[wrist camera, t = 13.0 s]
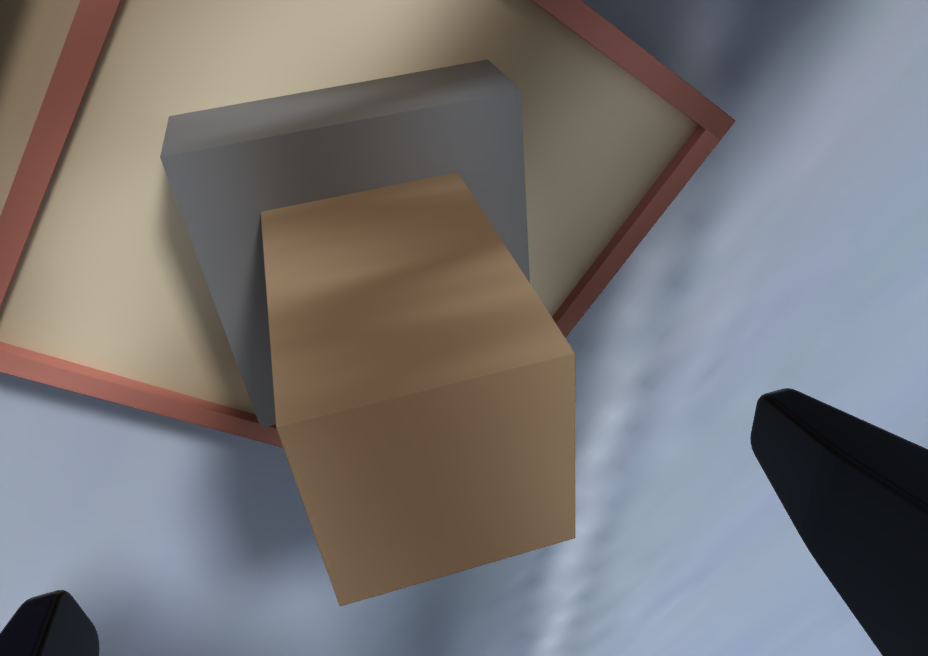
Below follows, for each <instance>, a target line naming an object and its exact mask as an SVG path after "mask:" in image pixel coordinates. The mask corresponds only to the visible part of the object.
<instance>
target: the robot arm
mask: <svg viewBox="0 0 928 656" xmlns="http://www.w3.org/2000/svg"><path fill="white" fill-rule="evenodd" d="M751 446H752V449H753V452H754V454H755V456H756V458H757V460H758V462H759V463H760V465H761V467H762V469H763V470H764V472H765V474H766V476H767V478H768V479H769V481H770V483H771V485H772V487H773V488H774V490H775V492H776V494H777V495H778V497H779V499H780V501H781V503H782V504H783V506H784V508H785V510H786V512H787V513H788V515H789V517H790V519H791V520H792V522H793V524H794V526H795V528H796V529H797V531H798V533H799V535H800V536H801V538H802V540H803V541H804V543H805V545H806V546H807V548H808V550H809V551H810V553H811V554H812V556H813V557H814V559H815V560H816V562H817V563H818V565H819V566H820V568H821V569H822V570H823V572H824V573H825V575H826V576H827V577H828V579H829V580H830V582H831V583H832V585H833V586H834V587H835V589H836V590H837V592H838V593H839V594H840V596H841V597H842V599H843V600H844V602H845V603H846V604H847V606H848V607H849V609H850V610H851V612H852V613H853V614H854V616H855V617H856V619H857V620H858V621H859V623H860V624H861V626H862V627H863V629H864V630H865V631H866V633H867V634H868V636H869V637H870V638H871V640H872V641H873V643H874V644H875V646H876V647H877V648H878V650H879V651H880V653H881V654H882V655H883V656H928V449H926V448H924V447H921V446H919V445H917V444H915V443H912V442H910V441H908V440H906V439H903V438H901V437H899V436H897V435H895V434H892V433H890V432H888V431H886V430H883V429H881V428H879V427H877V426H875V425H872V424H870V423H868V422H866V421H863V420H861V419H859V418H857V417H854V416H852V415H850V414H848V413H846V412H843V411H841V410H839V409H837V408H834V407H832V406H830V405H828V404H826V403H823V402H821V401H819V400H817V399H814V398H812V397H810V396H808V395H805V394H803V393H801V392H799V391H796V390H794V389H790V388H785V389H781V390H777V391H773V392H770V393H766V394H764V395H762V396H761V397H760V398H759V399H758V401H757V405H756V410H755V416H754V421H753V426H752V431H751ZM0 656H99V639H98V634H97V631H96V628H95V626H94V625H93V623H92V622H91V621H90V619H89V618H88V617H87V615H86V614H85V613H84V611H83V610H82V609H81V607H80V606H79V605H78V603H77V602H76V601H75V599H74V598H73V597H72V596H71V594H70V593H69V592H67V591H64V590H57V591H54V592H50V593H46V594H43V595H39V596H36V597H32V598H30V599H28V600H27V601H25V602H24V603H23V604H22V605H21V606H20V607H19V609H18V610H17V611H16V613H15V614H14V615H13V617H12V618H11V619H10V621H9V622H8V623H7V625H6V626H5V627H4V629H3V630H2V631H1V633H0Z"/></svg>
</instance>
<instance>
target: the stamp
mask: <svg viewBox="0 0 928 656" xmlns="http://www.w3.org/2000/svg"><path fill="white" fill-rule="evenodd" d="M160 159H161V161H162V164H163V167H164V169H165V172H166V175H167V177H168V180H169V183H170V185H171V188H172V191H173V193H174V196H175V199H176V201H177V204H178V207H179V210H180V212H181V215H182V218H183V220H184V223H185V226H186V228H187V231H188V234H189V236H190V239H191V242H192V244H193V247H194V250H195V253H196V255H197V258H198V261H199V263H200V266H201V269H202V271H203V274H204V277H205V279H206V282H207V285H208V287H209V290H210V293H211V296H212V298H213V301H214V304H215V306H216V309H217V312H218V314H219V317H220V320H221V322H222V325H223V328H224V330H225V333H226V336H227V338H228V341H229V344H230V347H231V349H232V352H233V355H234V357H235V360H236V363H237V365H238V368H239V371H240V373H241V376H242V379H243V381H244V384H245V387H246V390H247V392H248V395H249V398H250V400H251V403H252V406H253V408H254V411H255V414H256V416H257V419H258V422H259V424H260V427H261V428H264V427H268V426H272V425H276V428H277V430H278V433H279V436H280V439H281V442H282V445H283V447H284V450H285V453H286V456H287V459H288V462H289V464H290V467H291V470H292V473H293V476H294V479H295V481H296V484H297V487H298V490H299V493H300V496H301V498H302V501H303V504H304V507H305V510H306V512H307V515H308V518H309V521H310V524H311V527H312V529H313V532H314V535H315V538H316V541H317V544H318V546H319V549H320V552H321V555H322V558H323V561H324V563H325V566H326V569H327V572H328V575H329V578H330V580H331V583H332V586H333V589H334V592H335V594H336V597H337V600H338V603H339V606H343V605H347V604H350V603H354V602H357V601H361V600H364V599H367V598H371V597H374V596H378V595H381V594H385V593H388V592H392V591H395V590H398V589H402V588H405V587H409V586H412V585H416V584H419V583H422V582H426V581H429V580H433V579H436V578H440V577H443V576H446V575H450V574H453V573H457V572H460V571H464V570H467V569H471V568H474V567H477V566H481V565H484V564H488V563H491V562H495V561H498V560H501V559H505V558H508V557H512V556H515V555H519V554H522V553H526V552H529V551H532V550H536V549H539V548H543V547H546V546H550V545H553V544H556V543H560V542H563V541H567V540H570V539H574V538H575V352H574V351H573V349H572V348H571V346H570V345H569V343H568V342H567V340H566V339H565V337H564V335H563V334H562V332H561V331H560V329H559V328H558V326H557V325H556V323H555V322H554V320H553V318H552V317H551V315H550V314H549V312H548V311H547V309H546V308H545V306H544V305H543V303H542V301H541V300H540V298H539V297H538V295H537V294H536V292H535V291H534V289H533V288H532V286H531V285H530V273H529V251H528V230H527V209H526V187H525V166H524V144H523V123H522V101H521V90H520V89H519V88H518V87H517V86H516V85H515V84H514V83H513V82H512V81H511V80H510V79H508V78H507V77H506V76H505V75H504V74H503V73H502V72H501V71H500V70H499V69H498V68H496V67H495V66H494V65H493V64H492V63H491V62H490V61H489V60H488V59H487V60H482V61H476V62H471V63H465V64H459V65H454V66H448V67H442V68H437V69H431V70H426V71H420V72H414V73H409V74H403V75H398V76H392V77H386V78H381V79H375V80H369V81H364V82H358V83H353V84H347V85H341V86H336V87H330V88H324V89H319V90H313V91H308V92H302V93H296V94H291V95H285V96H280V97H274V98H268V99H263V100H257V101H251V102H246V103H240V104H235V105H229V106H223V107H218V108H212V109H207V110H201V111H195V112H190V113H184V114H178V115H173V116H169V118H168V123H167V128H166V132H165V137H164V141H163V146H162V151H161V155H160Z"/></svg>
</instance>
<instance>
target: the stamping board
mask: <svg viewBox="0 0 928 656" xmlns="http://www.w3.org/2000/svg"><path fill="white" fill-rule="evenodd" d="M487 59H488V60H489V61H490V62H491V63H492V64H493V65H494V66H495V67H496V68H498V69H499V70H500V71H501V72H502V73H503V74H504V75H505V76H506V77H507V78H508V79H510V80H511V81H512V82H513V83H514V84H515V85H516V86H517V87H518V88H519V89H520V90H521V101H522V123H523V144H524V166H525V187H526V209H527V230H528V251H529V273H530V285H531V286H532V288H533V289H534V291H535V292H536V294H537V295H538V297H539V298H540V300H541V301H542V303H543V305H544V306H545V308H546V309H547V311H548V312H549V314H550V315H551V317H552V318H553V320H554V322H555V323H556V325H557V326H558V328H559V329H560V331H561V332H562V334H563V335H564V337H565V338H566V336H567V335H568V334H569V332H570V331H571V330H572V329H573V327H574V326H575V325H576V324H577V322H578V321H579V320H580V318H581V317H582V316H583V315H584V313H585V312H586V311H587V310H588V308H589V307H590V306H591V304H592V303H593V302H594V301H595V299H596V298H597V297H598V295H599V294H600V293H601V292H602V290H603V289H604V288H605V287H606V285H607V284H608V283H609V281H610V280H611V279H612V278H613V276H614V275H615V274H616V273H617V271H618V270H619V269H620V267H621V266H622V265H623V264H624V262H625V261H626V260H627V258H628V257H629V256H630V255H631V253H632V252H633V251H634V250H635V248H636V247H637V246H638V244H639V243H640V242H641V241H642V239H643V238H644V237H645V236H646V234H647V233H648V232H649V230H650V229H651V228H652V227H653V225H654V224H655V223H656V222H657V220H658V219H659V218H660V216H661V215H662V214H663V213H664V211H665V210H666V209H667V207H668V206H669V205H670V204H671V202H672V201H673V200H674V199H675V197H676V196H677V195H678V193H679V192H680V191H681V190H682V188H683V187H684V186H685V185H686V183H687V182H688V181H689V179H690V178H691V177H692V176H693V174H694V173H695V172H696V171H697V169H698V168H699V167H700V165H701V164H702V163H703V162H704V160H705V159H706V158H707V156H708V155H709V154H710V153H711V151H712V150H713V149H714V148H715V146H716V145H717V144H718V142H719V141H720V140H721V139H722V137H723V136H724V135H725V134H726V132H727V131H728V130H729V128H730V127H731V126H732V125H733V123H734V122H735V120H734V119H733V118H732V117H730V116H729V115H728V114H726V113H725V112H724V111H723V110H721V109H720V108H719V107H717V106H716V105H715V104H714V103H712V102H711V101H710V100H709V99H707V98H706V97H705V96H703V95H702V94H701V93H700V92H698V91H697V90H696V89H694V88H693V87H692V86H691V85H689V84H688V83H687V82H685V81H684V80H683V79H682V78H680V77H679V76H678V75H676V74H675V73H674V72H673V71H671V70H670V69H669V68H668V67H666V66H665V65H664V64H662V63H661V62H660V61H659V60H657V59H656V58H655V57H653V56H652V55H651V54H650V53H648V52H647V51H646V50H644V49H643V48H642V47H641V46H639V45H638V44H637V43H636V42H634V41H633V40H632V39H630V38H629V37H628V36H627V35H625V34H624V33H623V32H621V31H620V30H619V29H618V28H616V27H615V26H614V25H612V24H611V23H610V22H609V21H607V20H606V19H605V18H604V17H602V16H601V15H600V14H598V13H597V12H596V11H595V10H593V9H592V8H591V7H589V6H588V5H587V4H586V3H584V2H583V1H582V0H0V372H3V373H6V374H10V375H14V376H18V377H21V378H25V379H29V380H33V381H36V382H40V383H44V384H48V385H51V386H55V387H59V388H63V389H66V390H70V391H74V392H78V393H81V394H85V395H89V396H93V397H96V398H100V399H104V400H108V401H111V402H115V403H119V404H122V405H126V406H130V407H134V408H137V409H141V410H145V411H149V412H152V413H156V414H160V415H164V416H167V417H171V418H175V419H179V420H182V421H186V422H190V423H194V424H197V425H201V426H205V427H209V428H212V429H216V430H220V431H224V432H227V433H231V434H235V435H239V436H242V437H246V438H250V439H253V440H257V441H261V442H265V443H268V444H272V445H276V446H280V447H283V445H282V442H281V439H280V436H279V433H278V430H277V428H276V425H272V426H268V427H264V428H261V427H260V424H259V422H258V419H257V416H256V414H255V411H254V408H253V406H252V403H251V400H250V398H249V395H248V392H247V390H246V387H245V384H244V381H243V379H242V376H241V373H240V371H239V368H238V365H237V363H236V360H235V357H234V355H233V352H232V349H231V347H230V344H229V341H228V338H227V336H226V333H225V330H224V328H223V325H222V322H221V320H220V317H219V314H218V312H217V309H216V306H215V304H214V301H213V298H212V296H211V293H210V290H209V287H208V285H207V282H206V279H205V277H204V274H203V271H202V269H201V266H200V263H199V261H198V258H197V255H196V253H195V250H194V247H193V244H192V242H191V239H190V236H189V234H188V231H187V228H186V226H185V223H184V220H183V218H182V215H181V212H180V210H179V207H178V204H177V201H176V199H175V196H174V193H173V191H172V188H171V185H170V183H169V180H168V177H167V175H166V172H165V169H164V167H163V164H162V161H161V159H160V155H161V151H162V146H163V141H164V137H165V132H166V128H167V123H168V118H169V116H173V115H178V114H184V113H190V112H195V111H201V110H207V109H212V108H218V107H223V106H229V105H235V104H240V103H246V102H251V101H257V100H263V99H268V98H274V97H280V96H285V95H291V94H296V93H302V92H308V91H313V90H319V89H324V88H330V87H336V86H341V85H347V84H353V83H358V82H364V81H369V80H375V79H381V78H386V77H392V76H398V75H403V74H409V73H414V72H420V71H426V70H431V69H437V68H442V67H448V66H454V65H459V64H465V63H471V62H476V61H482V60H487ZM283 448H284V447H283Z"/></svg>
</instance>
